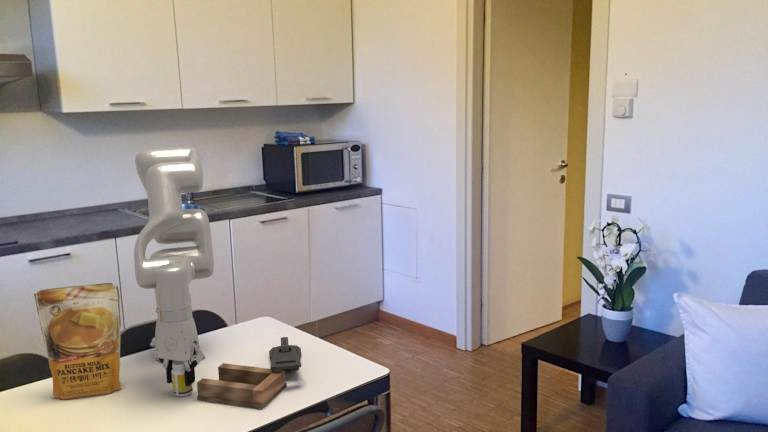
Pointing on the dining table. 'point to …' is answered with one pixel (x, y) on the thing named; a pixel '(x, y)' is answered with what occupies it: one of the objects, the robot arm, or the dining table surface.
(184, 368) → the supplement bottle
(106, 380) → the pancake mix bag
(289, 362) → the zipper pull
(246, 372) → the open u-shaped wooden frame
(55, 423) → the dining table surface
